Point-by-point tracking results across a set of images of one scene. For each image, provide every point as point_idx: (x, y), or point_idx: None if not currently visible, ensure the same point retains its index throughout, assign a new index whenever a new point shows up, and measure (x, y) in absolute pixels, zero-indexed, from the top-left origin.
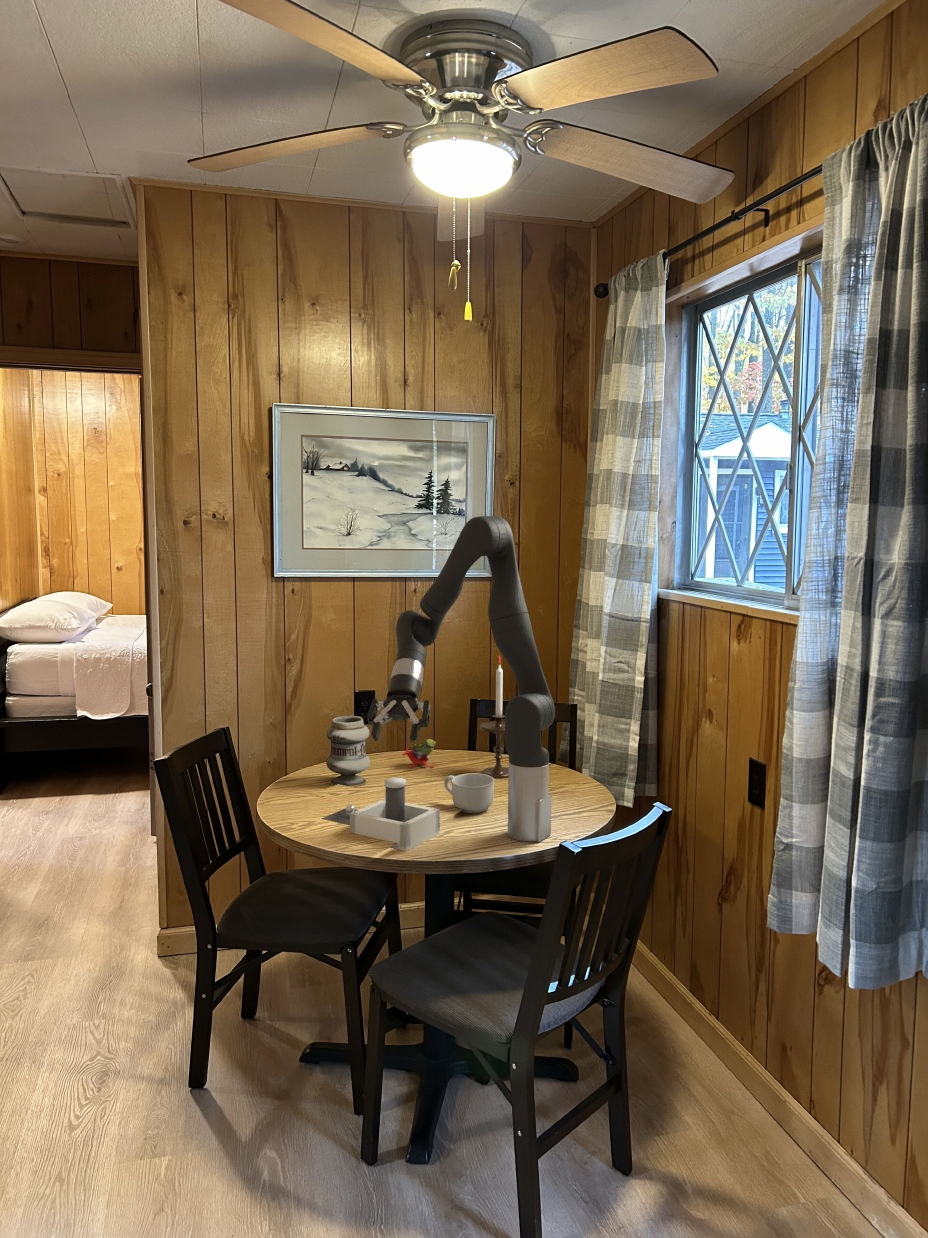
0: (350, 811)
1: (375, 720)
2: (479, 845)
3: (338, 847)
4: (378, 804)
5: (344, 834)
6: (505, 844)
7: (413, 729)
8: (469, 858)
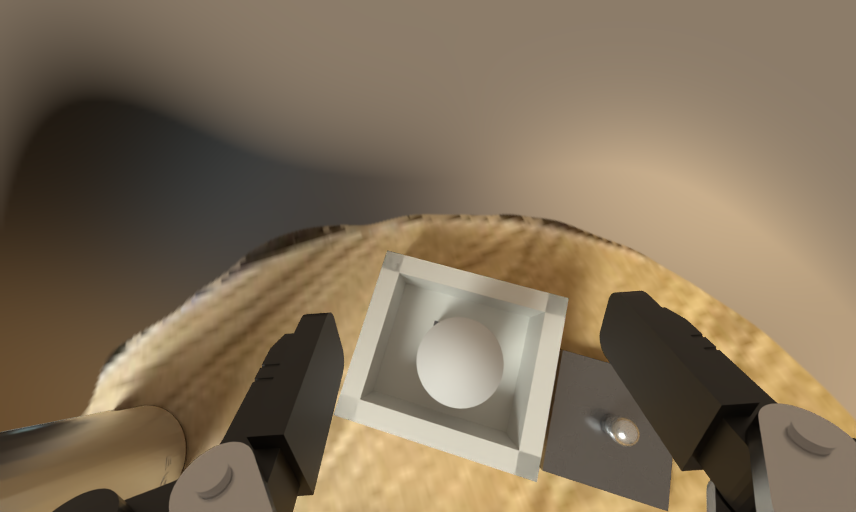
0: (615, 416)
1: (810, 422)
2: (249, 350)
3: (543, 248)
4: (529, 409)
5: (572, 330)
6: (191, 375)
7: (281, 372)
8: (261, 268)
